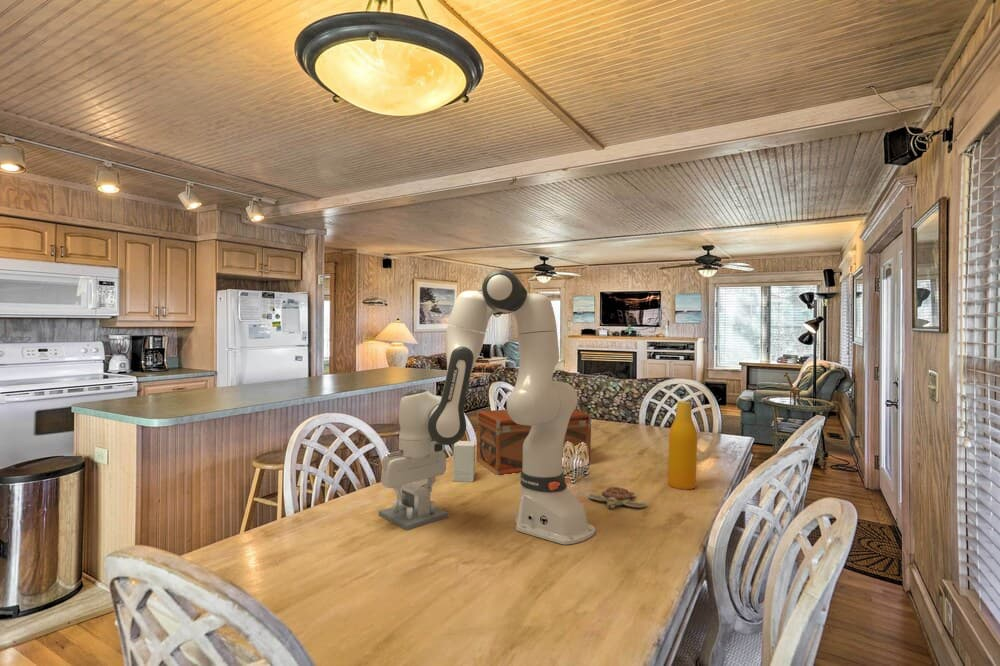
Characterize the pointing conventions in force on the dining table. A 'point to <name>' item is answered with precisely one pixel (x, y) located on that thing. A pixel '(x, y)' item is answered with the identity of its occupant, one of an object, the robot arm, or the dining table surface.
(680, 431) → the beer bottle
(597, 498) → the decorative turtle
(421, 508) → the block
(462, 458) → the supplement box
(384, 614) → the dining table surface
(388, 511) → the pin tray
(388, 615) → the dining table surface
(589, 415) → the wooden box
